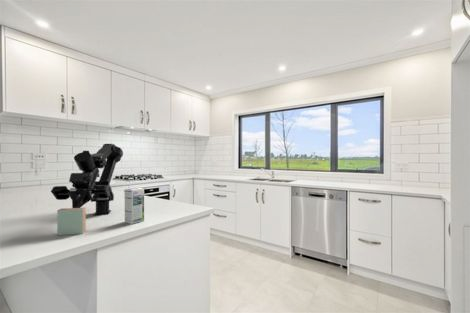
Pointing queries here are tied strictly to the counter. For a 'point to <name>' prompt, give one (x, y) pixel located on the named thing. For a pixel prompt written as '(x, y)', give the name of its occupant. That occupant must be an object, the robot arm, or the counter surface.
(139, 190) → the syrup box
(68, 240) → the counter surface
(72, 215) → the tile
